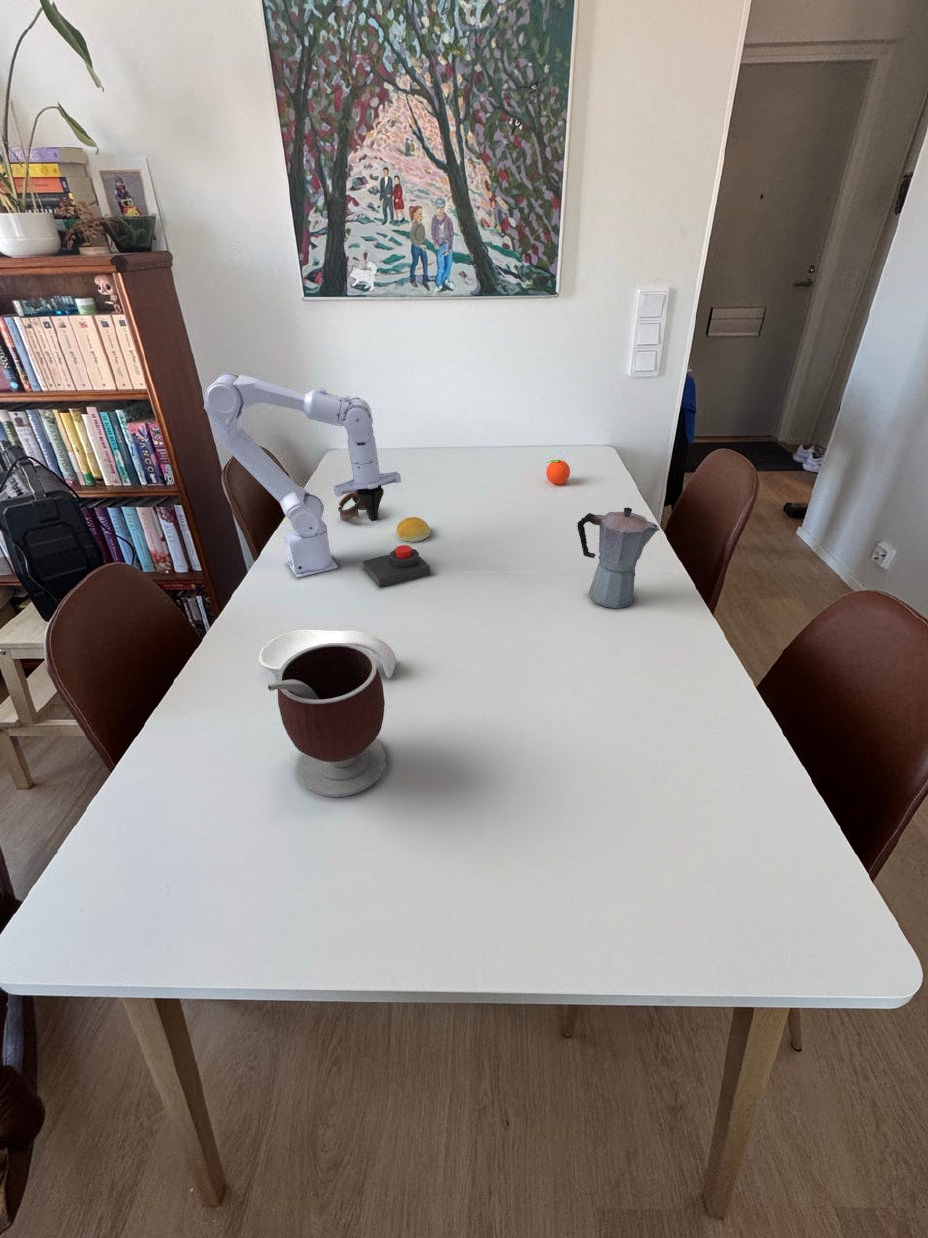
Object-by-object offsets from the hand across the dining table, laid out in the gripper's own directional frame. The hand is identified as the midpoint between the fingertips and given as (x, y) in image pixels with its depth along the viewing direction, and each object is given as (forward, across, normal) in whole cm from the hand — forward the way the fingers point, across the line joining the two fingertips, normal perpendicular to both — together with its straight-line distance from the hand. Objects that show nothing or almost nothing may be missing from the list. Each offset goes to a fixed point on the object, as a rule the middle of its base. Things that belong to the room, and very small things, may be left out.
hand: (373, 519), depth 140 cm
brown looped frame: (+10, +4, +26) cm, 28 cm away
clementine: (+13, +63, +21) cm, 68 cm away
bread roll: (+11, +12, +9) cm, 19 cm away
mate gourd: (+10, -28, -58) cm, 66 cm away
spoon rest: (+10, -22, -34) cm, 42 cm away
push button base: (+11, +1, -7) cm, 13 cm away
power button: (+7, +4, -7) cm, 11 cm away
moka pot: (+13, +36, -39) cm, 54 cm away
